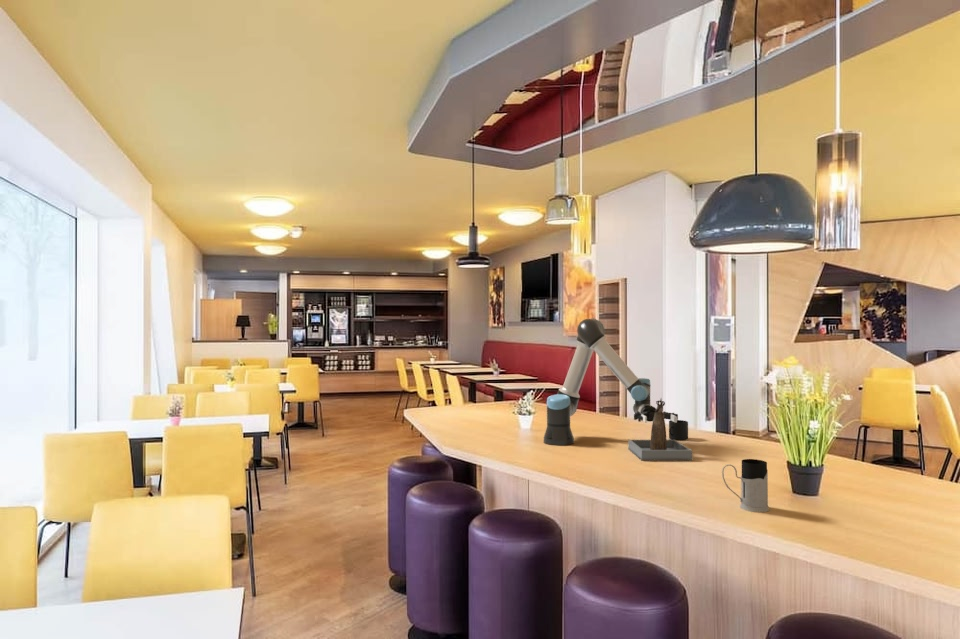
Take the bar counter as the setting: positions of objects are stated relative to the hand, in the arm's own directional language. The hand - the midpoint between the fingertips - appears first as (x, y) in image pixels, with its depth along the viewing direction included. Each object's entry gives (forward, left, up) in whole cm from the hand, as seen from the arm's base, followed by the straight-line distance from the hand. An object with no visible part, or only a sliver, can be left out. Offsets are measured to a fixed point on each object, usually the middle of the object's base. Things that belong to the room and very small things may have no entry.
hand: (660, 419), depth 272 cm
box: (0, +3, -17) cm, 17 cm away
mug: (+20, +40, -17) cm, 48 cm away
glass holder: (+5, -76, -17) cm, 78 cm away
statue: (0, +3, -16) cm, 16 cm away
